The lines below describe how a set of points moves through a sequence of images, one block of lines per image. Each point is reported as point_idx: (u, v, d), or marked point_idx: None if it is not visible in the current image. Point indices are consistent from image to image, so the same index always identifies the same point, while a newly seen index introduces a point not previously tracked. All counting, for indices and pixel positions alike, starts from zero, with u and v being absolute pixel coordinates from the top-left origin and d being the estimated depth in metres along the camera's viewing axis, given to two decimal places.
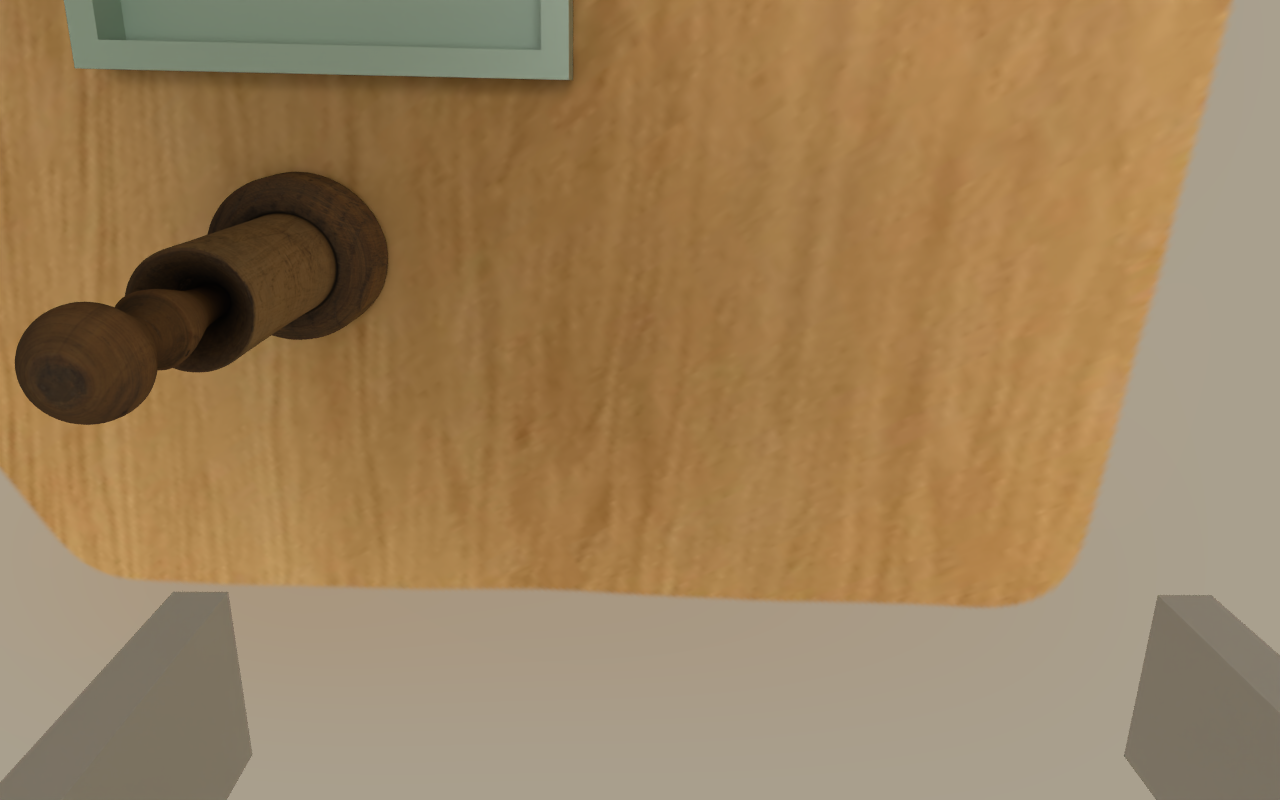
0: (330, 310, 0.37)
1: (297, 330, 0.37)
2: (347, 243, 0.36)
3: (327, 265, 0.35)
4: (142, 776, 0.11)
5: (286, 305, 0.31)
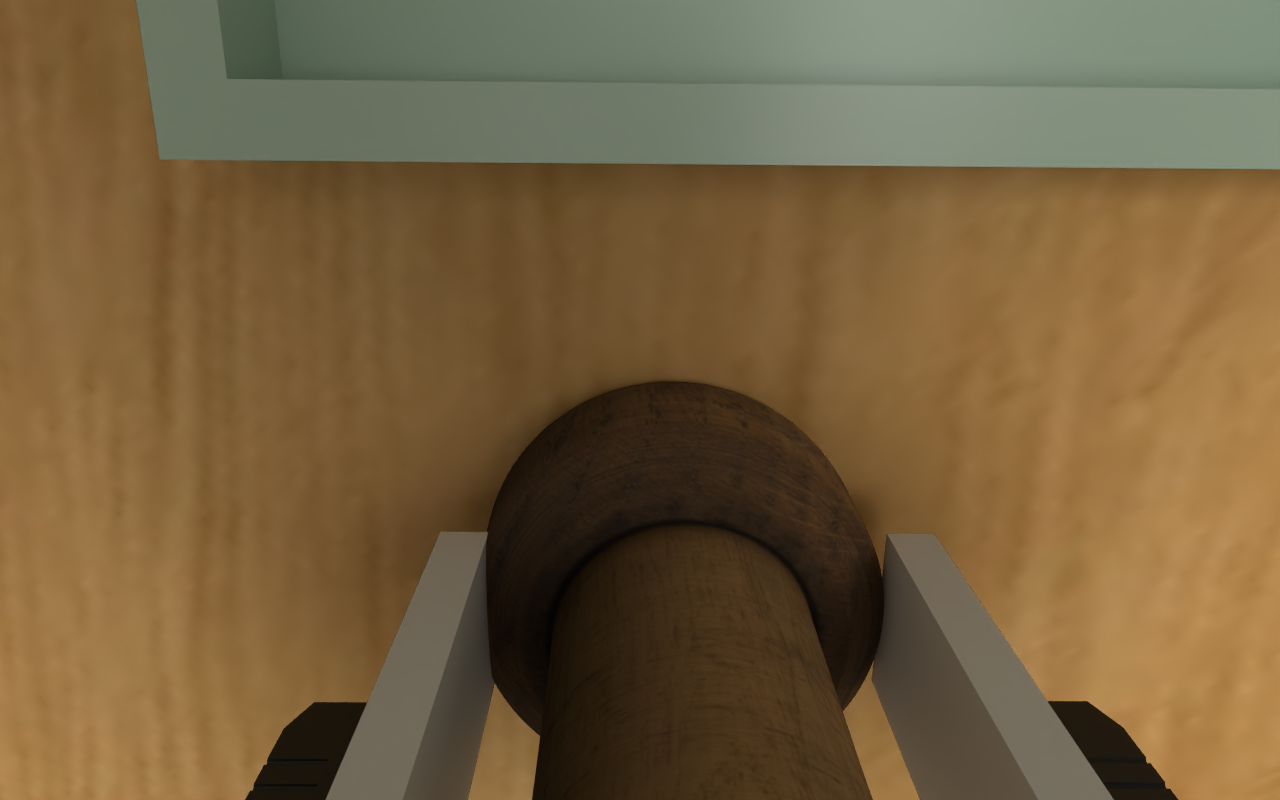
0: None
1: None
2: (847, 590, 0.14)
3: None
4: (461, 679, 0.12)
5: None
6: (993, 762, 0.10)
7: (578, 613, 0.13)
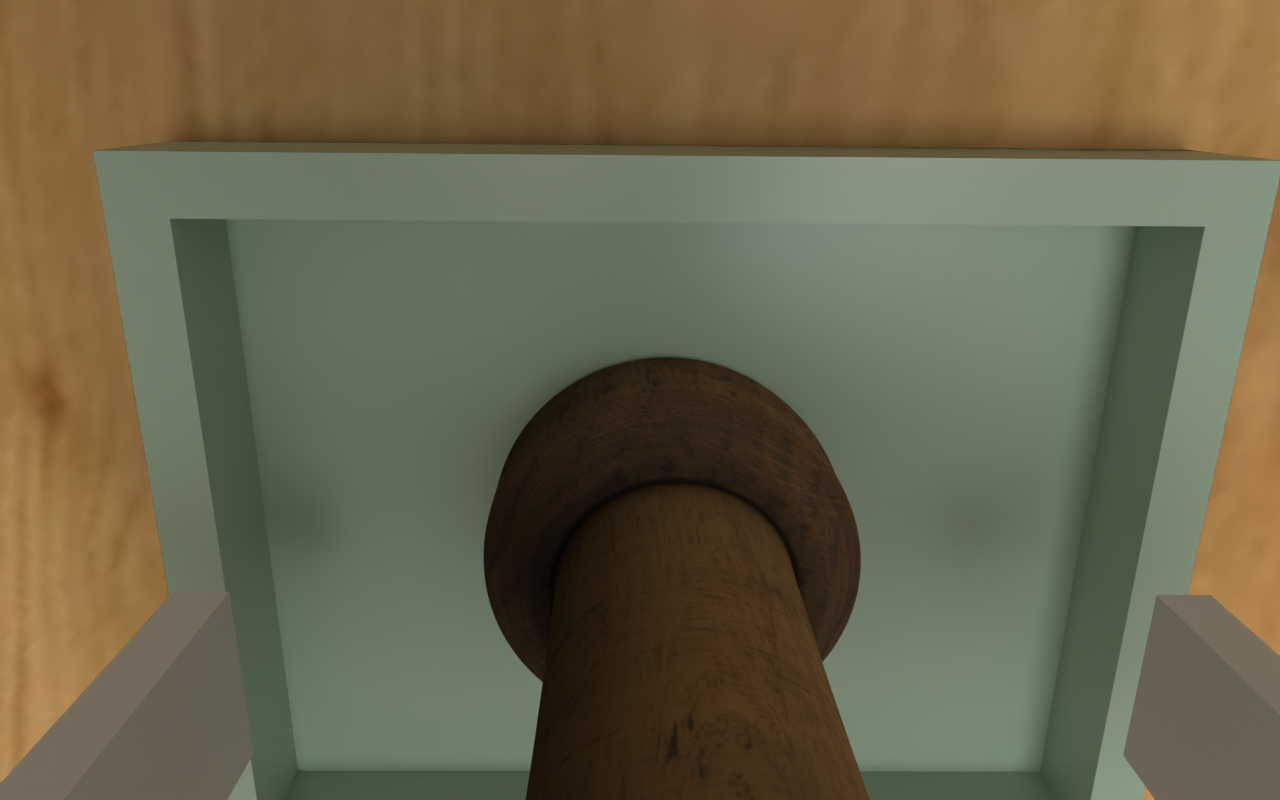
0: None
1: None
2: (826, 546, 0.15)
3: None
4: (143, 776, 0.11)
5: None
6: None
7: (580, 560, 0.14)
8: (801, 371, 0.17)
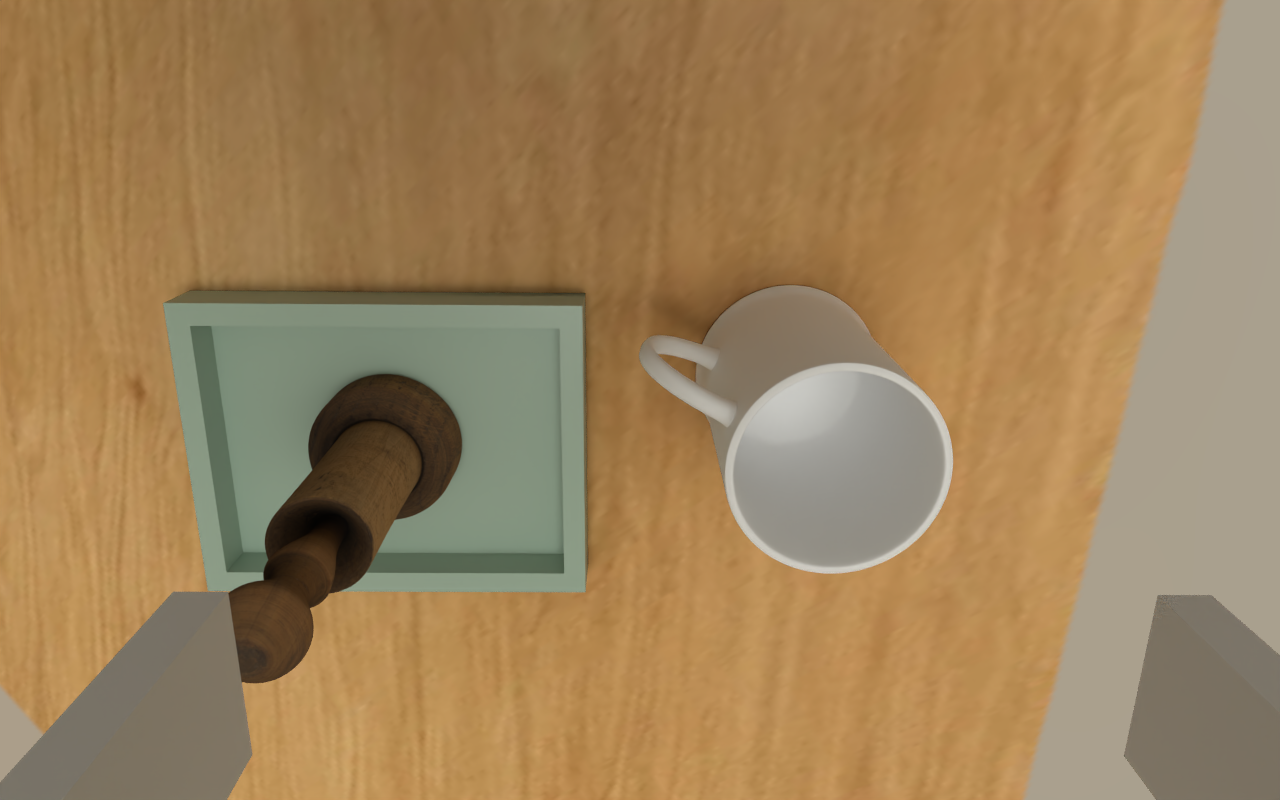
0: (415, 499, 0.42)
1: None
2: (431, 444, 0.41)
3: (416, 467, 0.41)
4: (142, 776, 0.11)
5: (390, 523, 0.37)
6: None
7: None
8: (440, 379, 0.43)
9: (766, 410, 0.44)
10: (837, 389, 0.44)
